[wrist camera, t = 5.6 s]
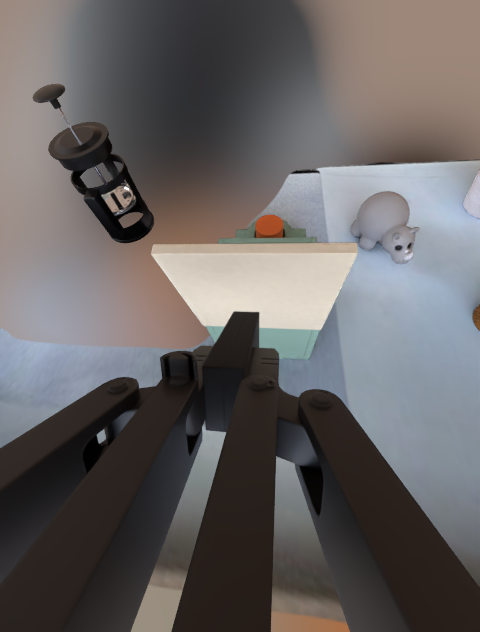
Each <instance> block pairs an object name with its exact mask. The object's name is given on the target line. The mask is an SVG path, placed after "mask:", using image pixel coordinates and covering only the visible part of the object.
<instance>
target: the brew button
mask: <svg viewBox="0 0 480 632" xmlns="http://www.w3.org/2000/svg"><path fill="white" fill-rule="evenodd" d="M255 228H256V238H283V221H282V219H281V218H279V217H278V216H275V215H265V216H263V217H261V218H259V219H258V220H257V222H256V225H255Z"/></svg>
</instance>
